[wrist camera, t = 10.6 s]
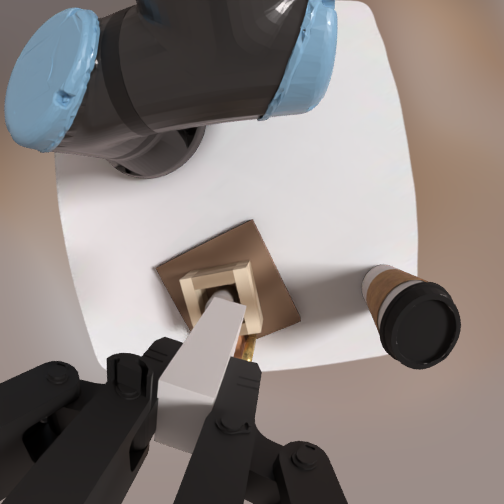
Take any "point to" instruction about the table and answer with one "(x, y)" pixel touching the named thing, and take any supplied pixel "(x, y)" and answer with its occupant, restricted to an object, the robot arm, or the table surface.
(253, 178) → the table surface
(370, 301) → the coffee cup
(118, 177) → the table surface
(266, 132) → the table surface
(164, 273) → the base
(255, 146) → the table surface
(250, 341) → the dowel
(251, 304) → the hollow square frame
